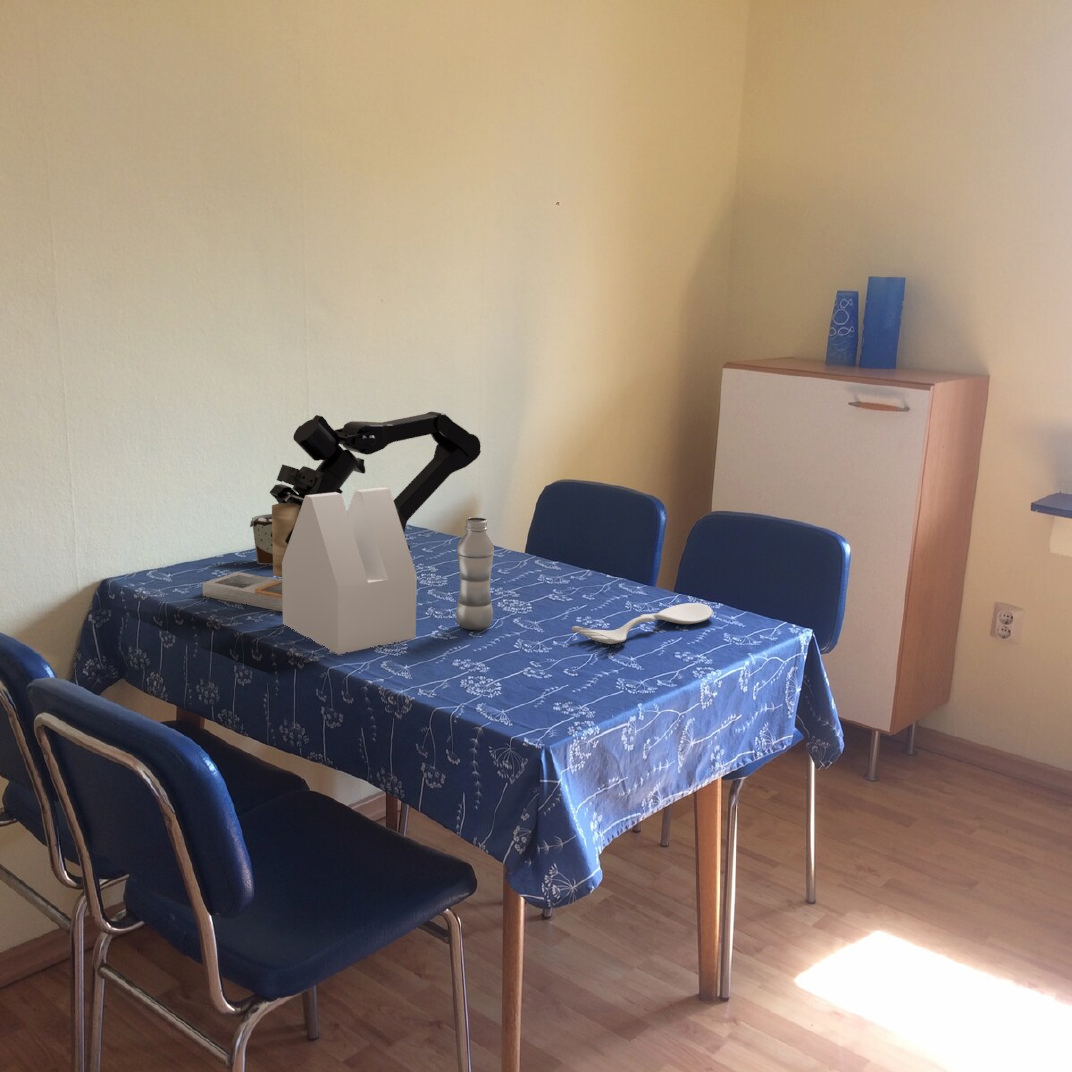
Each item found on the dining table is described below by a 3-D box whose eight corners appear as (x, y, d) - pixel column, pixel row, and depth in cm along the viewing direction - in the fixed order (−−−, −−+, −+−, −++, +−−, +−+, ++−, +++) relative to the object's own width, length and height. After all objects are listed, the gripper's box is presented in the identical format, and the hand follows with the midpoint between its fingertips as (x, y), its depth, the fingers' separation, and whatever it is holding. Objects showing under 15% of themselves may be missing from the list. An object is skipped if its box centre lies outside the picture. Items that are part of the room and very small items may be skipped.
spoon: (569, 643, 194) (570, 624, 193) (684, 611, 215) (685, 594, 215) (607, 657, 187) (608, 637, 187) (722, 622, 209) (723, 604, 208)
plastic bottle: (495, 633, 197) (498, 523, 192) (456, 634, 195) (459, 523, 191) (490, 622, 203) (493, 515, 198) (453, 623, 202) (455, 515, 197)
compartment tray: (324, 600, 212) (324, 586, 212) (292, 613, 204) (291, 598, 203) (237, 584, 221) (237, 570, 220) (202, 595, 212) (202, 581, 211)
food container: (315, 559, 242) (315, 515, 239) (307, 567, 236) (306, 521, 233) (260, 556, 243) (259, 511, 240) (250, 563, 237) (249, 517, 234)
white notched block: (415, 638, 193) (417, 497, 187) (338, 655, 183) (337, 506, 177) (357, 611, 207) (358, 479, 201) (282, 625, 197) (280, 486, 192)
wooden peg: (303, 570, 211) (302, 503, 208) (296, 577, 206) (294, 509, 203) (277, 569, 211) (276, 502, 208) (269, 576, 207) (268, 508, 204)
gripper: (277, 442, 213) (226, 505, 208) (330, 456, 199) (277, 523, 195) (314, 478, 220) (265, 540, 215) (367, 494, 206) (316, 560, 202)
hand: (279, 540), depth 206 cm, fingers closed on wooden peg, 5 cm apart
